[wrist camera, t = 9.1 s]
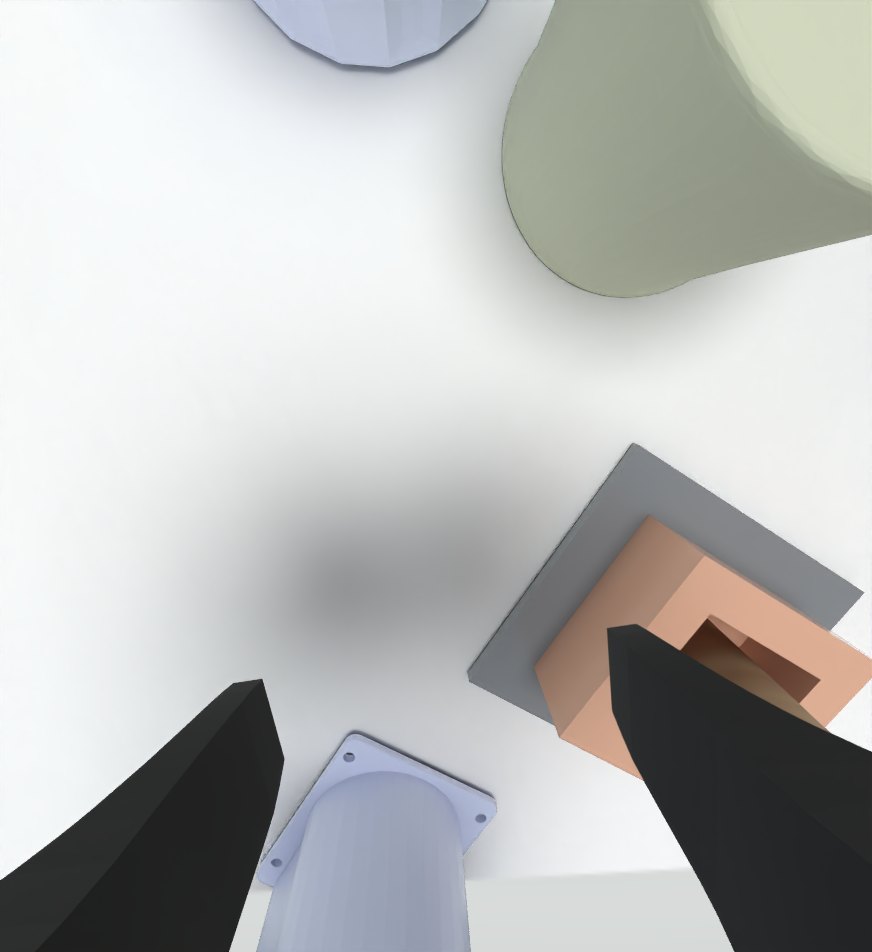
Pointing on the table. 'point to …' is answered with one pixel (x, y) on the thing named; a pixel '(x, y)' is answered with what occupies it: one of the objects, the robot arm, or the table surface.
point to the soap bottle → (372, 27)
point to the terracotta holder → (667, 605)
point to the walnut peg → (740, 669)
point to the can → (690, 137)
